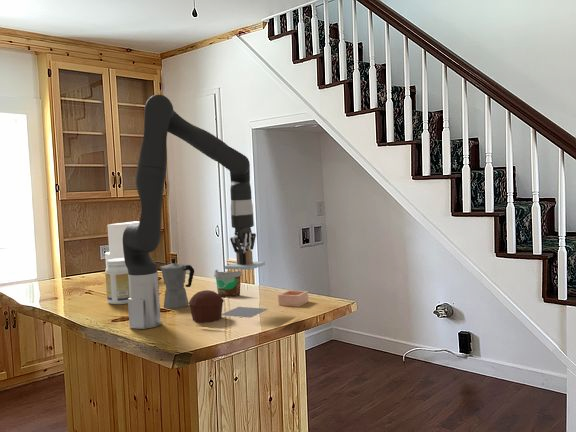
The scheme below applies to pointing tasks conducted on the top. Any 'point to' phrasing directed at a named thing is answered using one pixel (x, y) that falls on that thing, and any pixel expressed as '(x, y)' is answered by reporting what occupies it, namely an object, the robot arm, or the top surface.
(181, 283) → the coffeepot
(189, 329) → the top surface
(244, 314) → the mat
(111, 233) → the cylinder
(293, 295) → the dish
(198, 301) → the muffin
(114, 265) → the supplement tub
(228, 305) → the top surface
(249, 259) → the lid
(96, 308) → the top surface
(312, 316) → the top surface
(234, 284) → the food container
